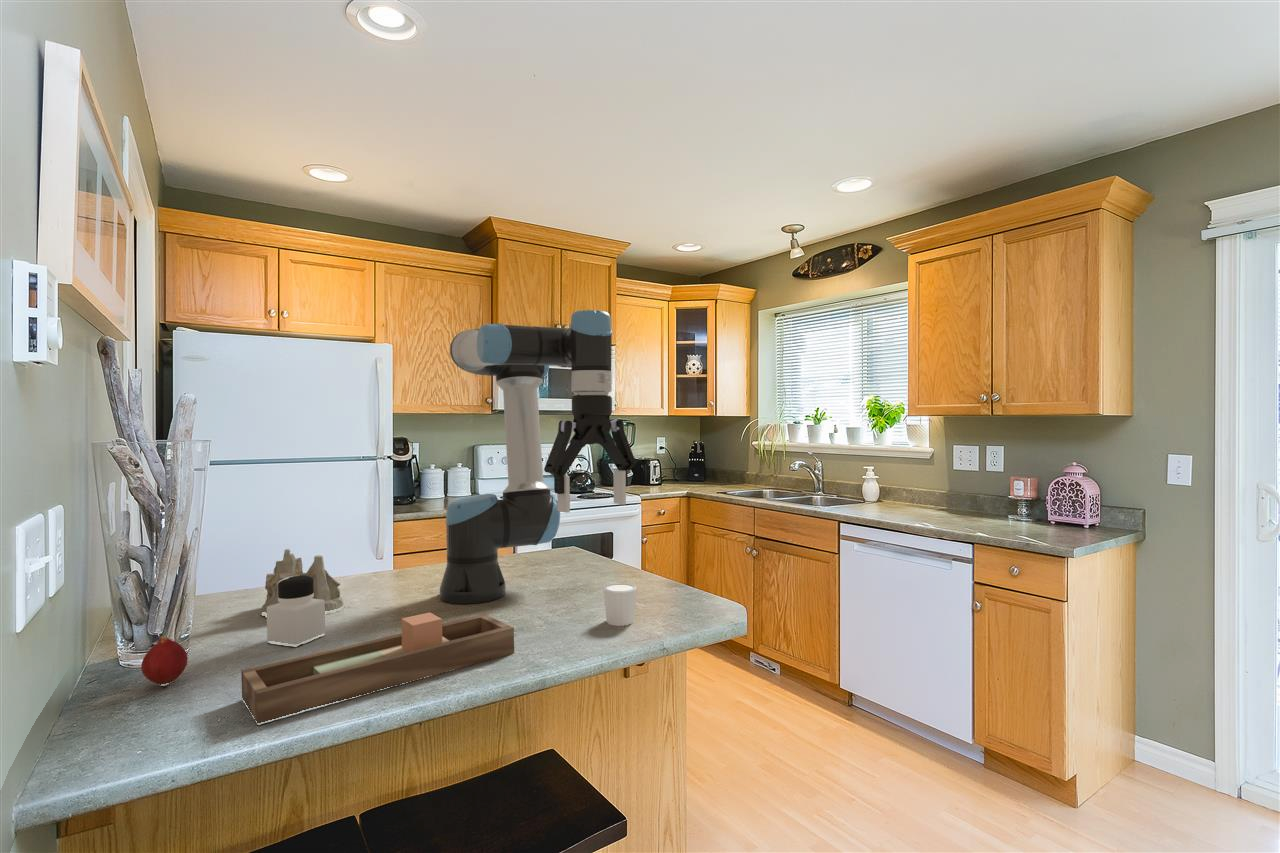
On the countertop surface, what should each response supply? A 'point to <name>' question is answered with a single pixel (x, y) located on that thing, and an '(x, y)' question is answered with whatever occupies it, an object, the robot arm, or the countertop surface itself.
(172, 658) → the onion
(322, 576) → the rock mountain model
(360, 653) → the brown wooden long tray
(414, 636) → the block
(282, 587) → the medicine bottle
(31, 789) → the countertop surface
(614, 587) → the white cup
